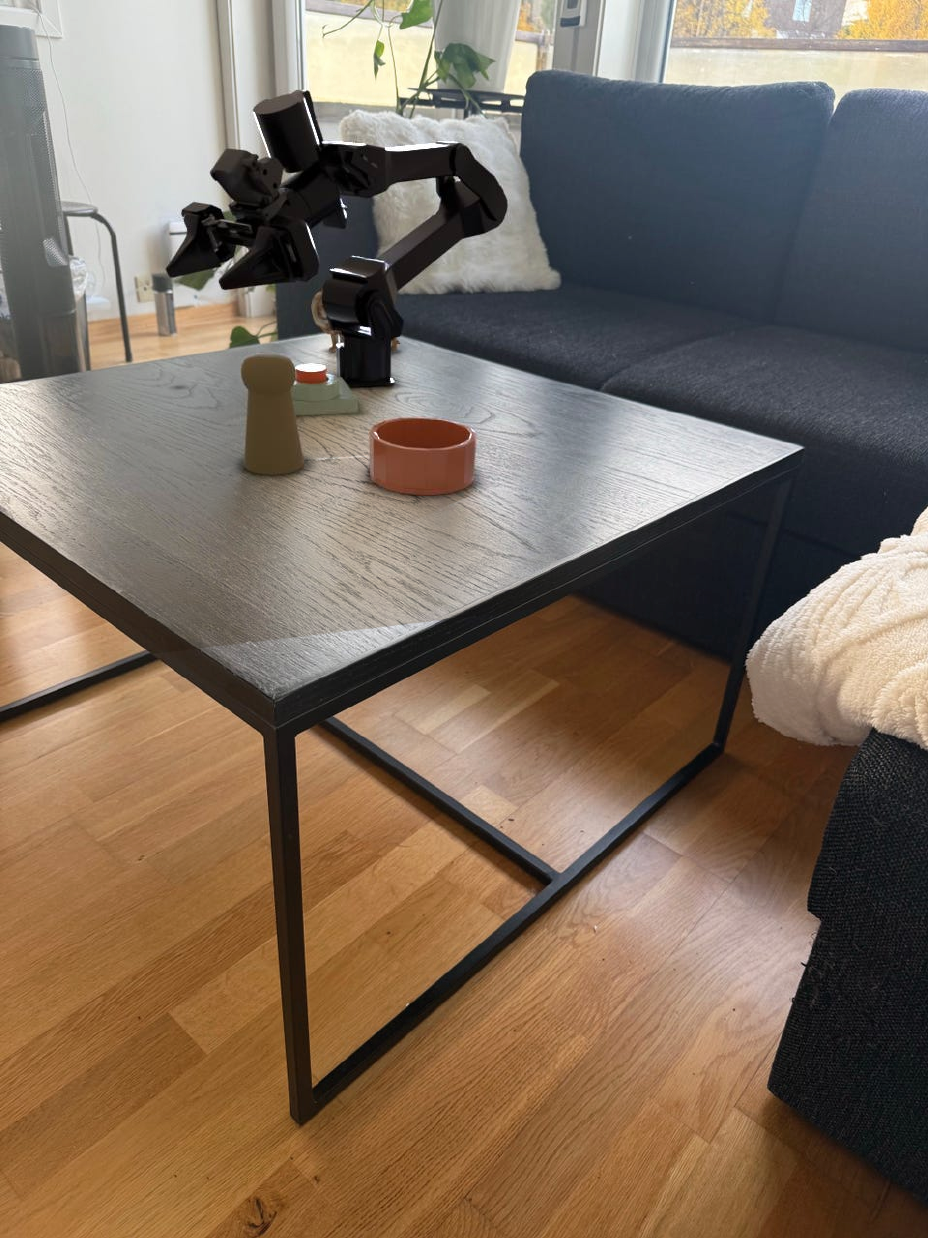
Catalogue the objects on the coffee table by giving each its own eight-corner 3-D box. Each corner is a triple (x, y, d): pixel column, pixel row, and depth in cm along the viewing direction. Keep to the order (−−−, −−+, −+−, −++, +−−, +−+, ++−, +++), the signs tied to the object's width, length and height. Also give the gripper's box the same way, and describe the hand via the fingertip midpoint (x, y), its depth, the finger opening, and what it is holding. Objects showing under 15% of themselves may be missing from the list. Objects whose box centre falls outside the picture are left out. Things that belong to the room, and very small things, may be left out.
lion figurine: (322, 360, 128) (320, 295, 124) (306, 352, 132) (303, 288, 127) (408, 350, 136) (409, 288, 131) (390, 343, 139) (390, 282, 135)
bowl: (456, 455, 95) (457, 414, 93) (487, 491, 87) (490, 446, 84) (360, 461, 92) (360, 419, 90) (383, 498, 84) (383, 453, 81)
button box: (342, 390, 115) (341, 362, 113) (358, 413, 107) (358, 384, 105) (264, 393, 112) (262, 365, 111) (274, 417, 104) (272, 387, 102)
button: (323, 377, 108) (323, 363, 108) (329, 385, 105) (328, 370, 105) (294, 378, 107) (293, 364, 107) (298, 386, 104) (298, 371, 104)
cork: (253, 477, 87) (244, 364, 81) (236, 458, 91) (227, 349, 86) (312, 470, 89) (307, 359, 84) (293, 451, 94) (288, 345, 88)
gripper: (212, 130, 100) (106, 195, 93) (326, 139, 90) (216, 213, 83) (251, 226, 108) (155, 292, 102) (359, 244, 98) (261, 319, 92)
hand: (193, 279), depth 94 cm, fingers open, 9 cm apart
